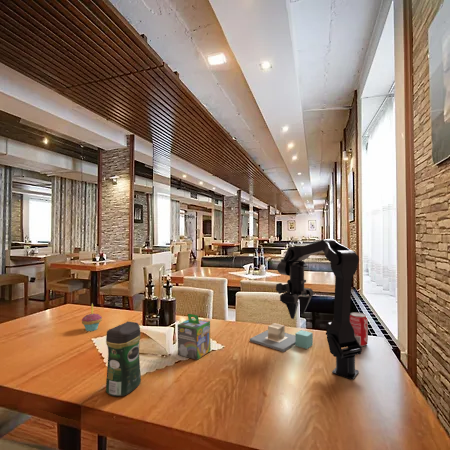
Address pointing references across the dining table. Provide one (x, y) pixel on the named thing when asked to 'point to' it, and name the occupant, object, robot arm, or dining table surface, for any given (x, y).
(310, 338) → the teal cube
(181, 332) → the chalk box
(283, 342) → the slate board
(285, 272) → the robot arm
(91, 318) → the cupcake
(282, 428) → the dining table surface
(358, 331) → the soda can
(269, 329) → the birch cube
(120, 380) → the coffee jar
